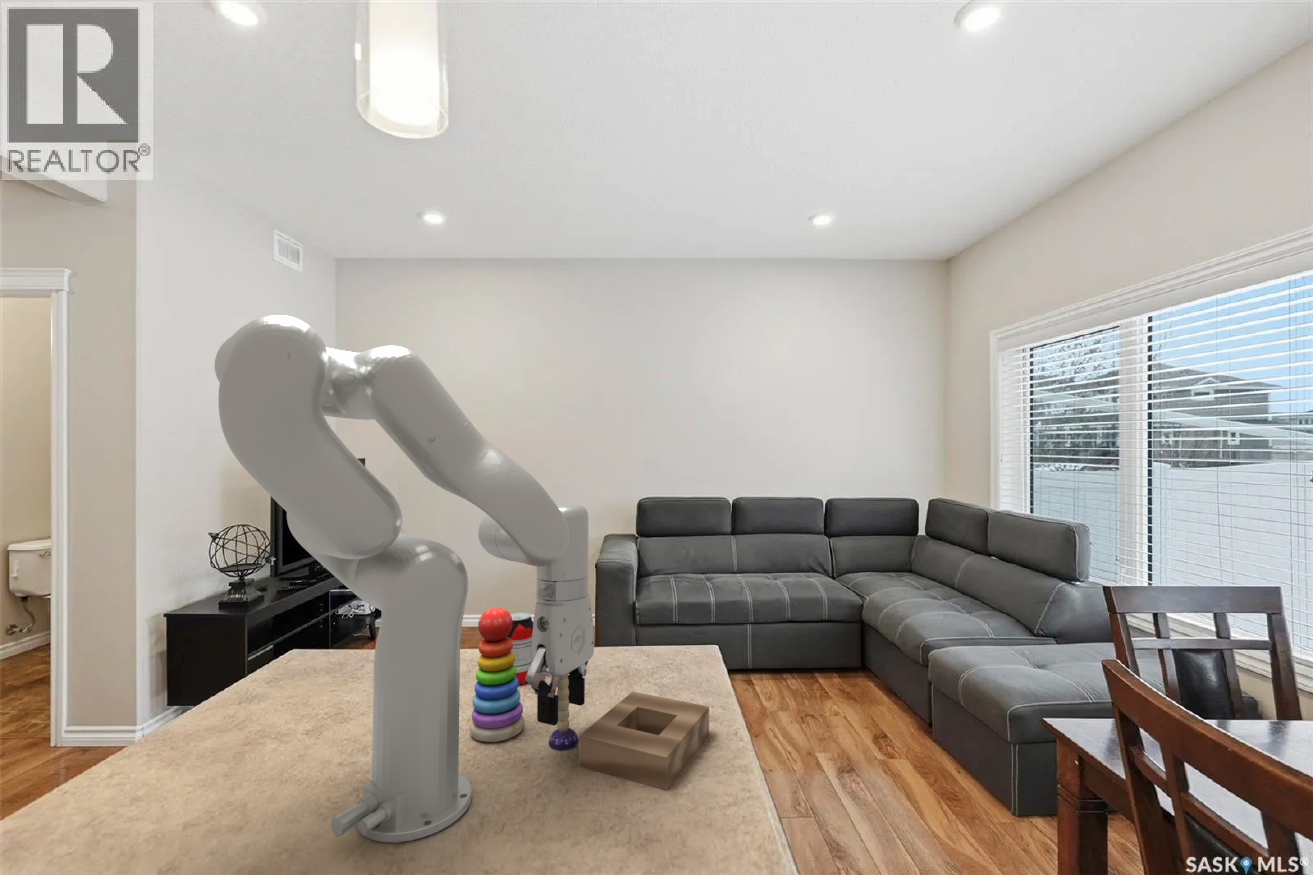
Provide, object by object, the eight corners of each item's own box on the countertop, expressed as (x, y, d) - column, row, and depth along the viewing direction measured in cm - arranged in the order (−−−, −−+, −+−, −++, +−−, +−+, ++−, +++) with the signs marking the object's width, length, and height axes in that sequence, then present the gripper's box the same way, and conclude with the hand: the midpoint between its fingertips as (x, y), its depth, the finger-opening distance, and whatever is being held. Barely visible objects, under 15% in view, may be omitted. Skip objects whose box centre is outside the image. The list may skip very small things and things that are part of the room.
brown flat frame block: (666, 789, 71) (666, 757, 71) (578, 766, 76) (578, 735, 76) (709, 733, 85) (708, 706, 85) (632, 716, 91) (632, 691, 91)
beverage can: (532, 672, 109) (533, 610, 110) (534, 685, 103) (535, 619, 104) (498, 675, 108) (499, 612, 108) (498, 689, 102) (499, 621, 102)
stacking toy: (490, 716, 91) (492, 599, 92) (534, 724, 88) (535, 603, 89) (458, 739, 83) (460, 611, 84) (504, 748, 81) (505, 616, 81)
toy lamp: (570, 753, 79) (571, 634, 80) (539, 750, 80) (540, 632, 81) (582, 737, 84) (582, 624, 85) (552, 734, 85) (553, 622, 86)
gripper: (548, 605, 74) (547, 746, 73) (613, 579, 89) (613, 695, 89) (503, 599, 77) (501, 734, 76) (573, 575, 92) (572, 686, 92)
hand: (561, 711), depth 82 cm, fingers open, 6 cm apart
